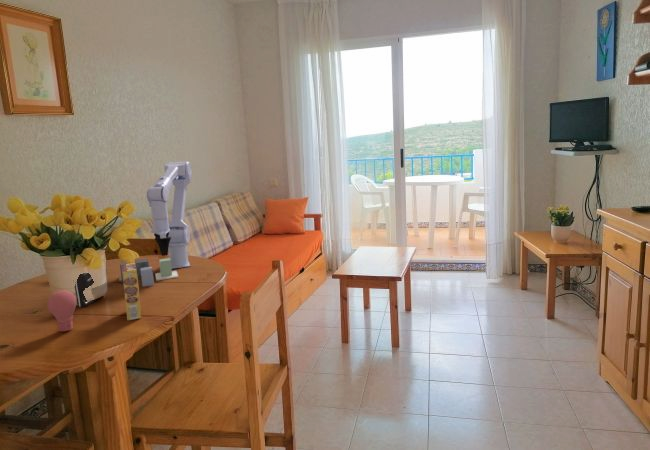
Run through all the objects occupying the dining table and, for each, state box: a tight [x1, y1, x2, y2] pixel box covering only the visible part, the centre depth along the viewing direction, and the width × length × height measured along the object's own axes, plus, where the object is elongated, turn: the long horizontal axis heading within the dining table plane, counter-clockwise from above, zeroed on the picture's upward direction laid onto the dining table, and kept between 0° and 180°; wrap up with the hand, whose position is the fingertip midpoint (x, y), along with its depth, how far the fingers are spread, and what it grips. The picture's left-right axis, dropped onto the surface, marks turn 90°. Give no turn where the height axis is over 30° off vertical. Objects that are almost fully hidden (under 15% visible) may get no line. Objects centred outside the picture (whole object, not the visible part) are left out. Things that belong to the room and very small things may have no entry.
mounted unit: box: [118, 258, 150, 284], centre depth 181 cm, size 7×12×6 cm, turn 112°
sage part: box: [158, 257, 173, 277], centre depth 181 cm, size 4×4×6 cm
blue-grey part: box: [140, 266, 155, 288], centre depth 172 cm, size 4×4×6 cm
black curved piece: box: [74, 273, 95, 308], centre depth 154 cm, size 7×4×11 cm, turn 178°
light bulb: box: [47, 289, 77, 332], centre depth 132 cm, size 7×7×12 cm
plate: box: [154, 270, 179, 281], centre depth 182 cm, size 8×8×1 cm
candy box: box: [122, 263, 142, 321], centre depth 142 cm, size 9×4×15 cm, turn 24°
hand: (164, 253), depth 180 cm, fingers open, 7 cm apart
